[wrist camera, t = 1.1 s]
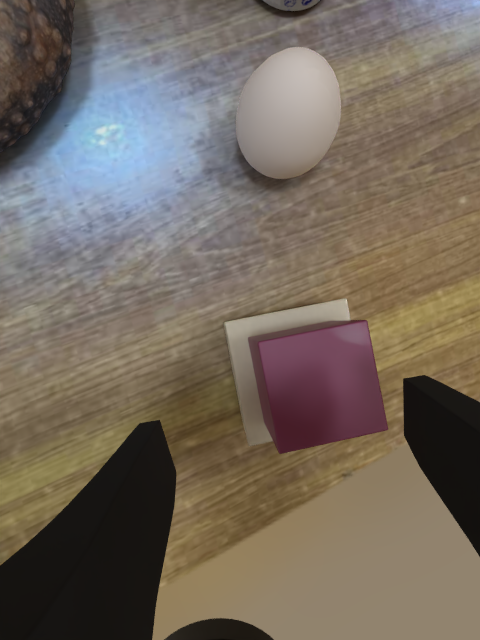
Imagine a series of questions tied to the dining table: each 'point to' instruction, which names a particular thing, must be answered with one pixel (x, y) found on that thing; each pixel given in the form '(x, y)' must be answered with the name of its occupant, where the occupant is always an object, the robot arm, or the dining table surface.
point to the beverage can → (291, 4)
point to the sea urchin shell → (31, 61)
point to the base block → (242, 359)
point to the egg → (288, 113)
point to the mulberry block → (318, 384)
